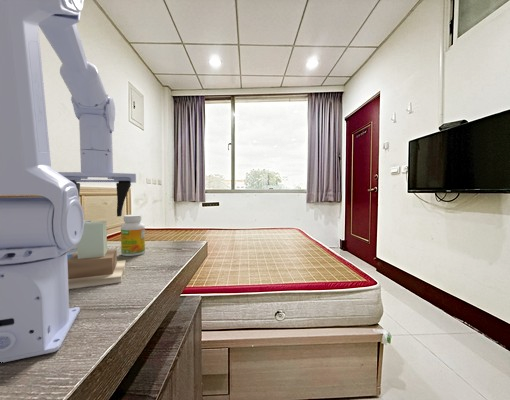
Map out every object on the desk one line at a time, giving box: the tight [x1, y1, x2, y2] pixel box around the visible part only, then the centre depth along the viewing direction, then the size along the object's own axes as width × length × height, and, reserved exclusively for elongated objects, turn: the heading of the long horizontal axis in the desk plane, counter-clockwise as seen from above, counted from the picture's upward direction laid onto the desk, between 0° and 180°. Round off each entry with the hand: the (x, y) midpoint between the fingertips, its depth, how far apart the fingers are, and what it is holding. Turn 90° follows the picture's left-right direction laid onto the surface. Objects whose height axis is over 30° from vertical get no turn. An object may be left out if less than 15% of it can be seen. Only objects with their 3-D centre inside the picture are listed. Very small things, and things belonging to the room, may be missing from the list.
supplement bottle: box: [120, 214, 146, 257], centre depth 63 cm, size 5×5×10 cm
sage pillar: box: [77, 220, 108, 259], centre depth 47 cm, size 4×4×6 cm
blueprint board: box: [67, 248, 127, 290], centre depth 47 cm, size 11×10×4 cm
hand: (98, 216), depth 53 cm, fingers open, 7 cm apart
